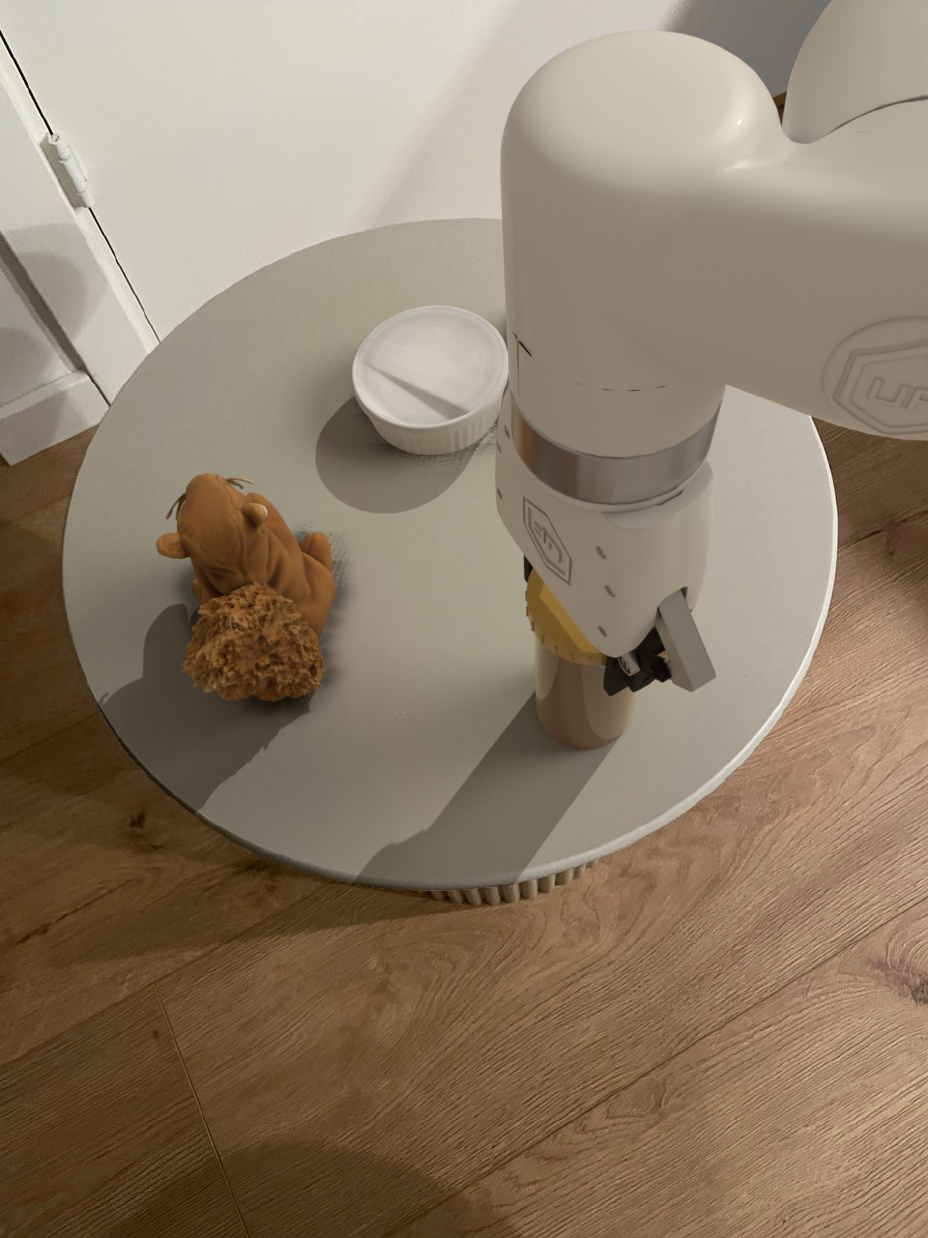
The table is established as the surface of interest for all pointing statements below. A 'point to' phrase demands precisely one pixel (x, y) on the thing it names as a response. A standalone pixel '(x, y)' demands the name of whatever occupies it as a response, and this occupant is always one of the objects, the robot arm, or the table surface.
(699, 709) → the table surface
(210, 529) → the stuffed squirrel
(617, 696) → the jar
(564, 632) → the lid
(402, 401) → the ramekin
